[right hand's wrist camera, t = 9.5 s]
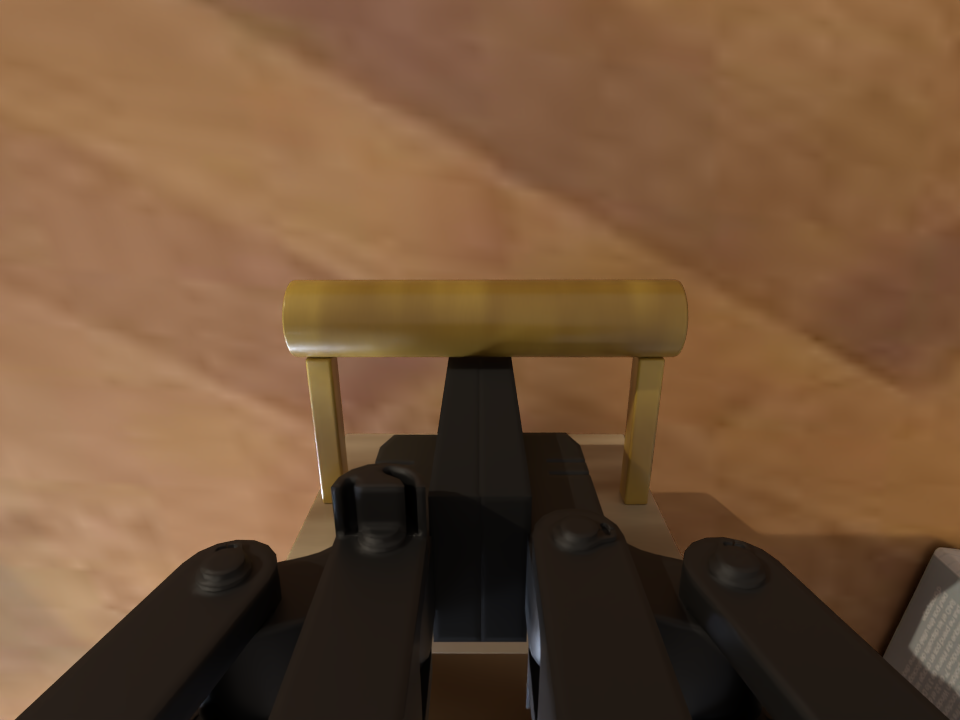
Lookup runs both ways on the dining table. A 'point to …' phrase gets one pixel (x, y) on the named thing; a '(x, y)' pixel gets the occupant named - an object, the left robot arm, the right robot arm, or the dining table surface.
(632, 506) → the drawer
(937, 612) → the hard drive box
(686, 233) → the dining table surface
